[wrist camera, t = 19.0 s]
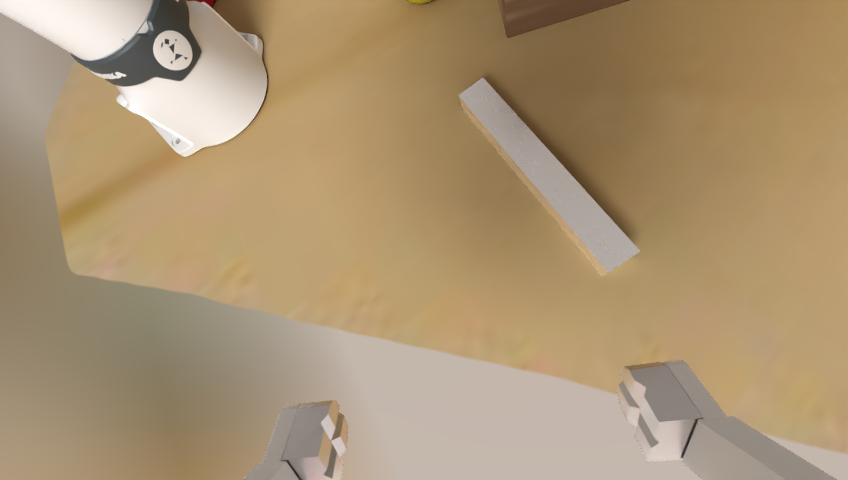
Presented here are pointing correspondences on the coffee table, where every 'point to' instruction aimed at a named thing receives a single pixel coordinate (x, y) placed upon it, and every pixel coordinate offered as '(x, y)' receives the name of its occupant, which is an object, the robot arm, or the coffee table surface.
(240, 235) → the coffee table surface
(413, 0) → the tennis ball
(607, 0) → the brown patterned box
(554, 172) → the aluminium bar
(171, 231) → the coffee table surface
